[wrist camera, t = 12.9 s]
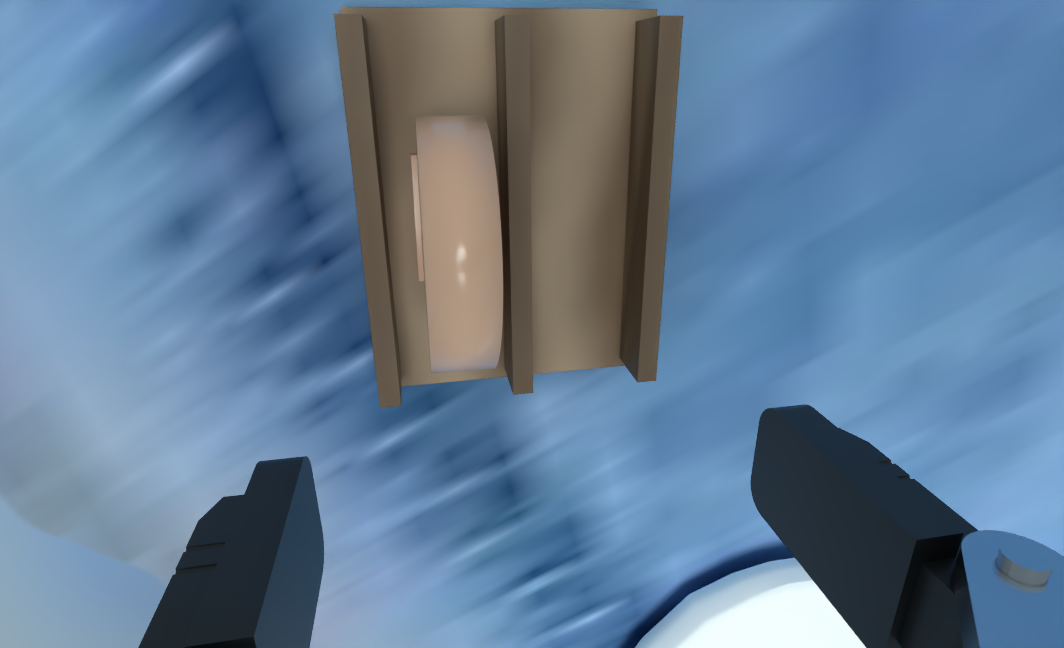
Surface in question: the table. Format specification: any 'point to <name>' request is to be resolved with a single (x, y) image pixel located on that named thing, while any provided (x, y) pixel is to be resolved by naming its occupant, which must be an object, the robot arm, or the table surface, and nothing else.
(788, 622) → the plate
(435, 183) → the saucer
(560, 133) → the dish rack
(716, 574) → the table surface
